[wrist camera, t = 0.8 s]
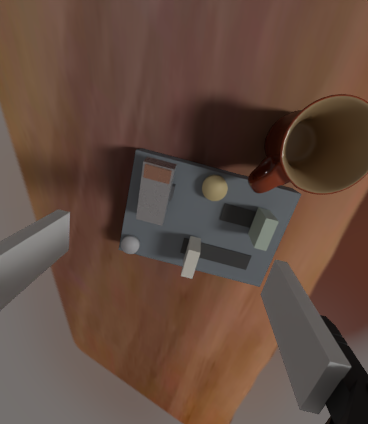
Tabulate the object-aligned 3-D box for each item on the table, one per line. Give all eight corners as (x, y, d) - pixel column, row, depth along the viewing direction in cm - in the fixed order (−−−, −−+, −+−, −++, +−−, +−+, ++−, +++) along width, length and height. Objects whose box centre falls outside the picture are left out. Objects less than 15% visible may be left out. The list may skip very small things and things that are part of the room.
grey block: (258, 207, 30) (266, 218, 26) (269, 210, 30) (278, 221, 26) (247, 233, 31) (254, 247, 28) (258, 236, 31) (266, 251, 28)
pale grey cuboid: (190, 235, 32) (188, 249, 28) (200, 238, 32) (200, 252, 28) (183, 259, 33) (180, 275, 30) (193, 262, 33) (192, 278, 30)
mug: (306, 91, 28) (360, 70, 19) (336, 151, 30) (399, 160, 21) (223, 148, 31) (232, 156, 22) (255, 199, 33) (277, 227, 24)
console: (141, 148, 32) (132, 150, 28) (292, 188, 32) (306, 197, 28) (125, 240, 37) (115, 254, 33) (255, 275, 37) (262, 293, 33)
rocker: (147, 156, 26) (142, 162, 25) (176, 164, 26) (174, 170, 25) (139, 212, 31) (135, 219, 29) (164, 218, 31) (162, 226, 29)
